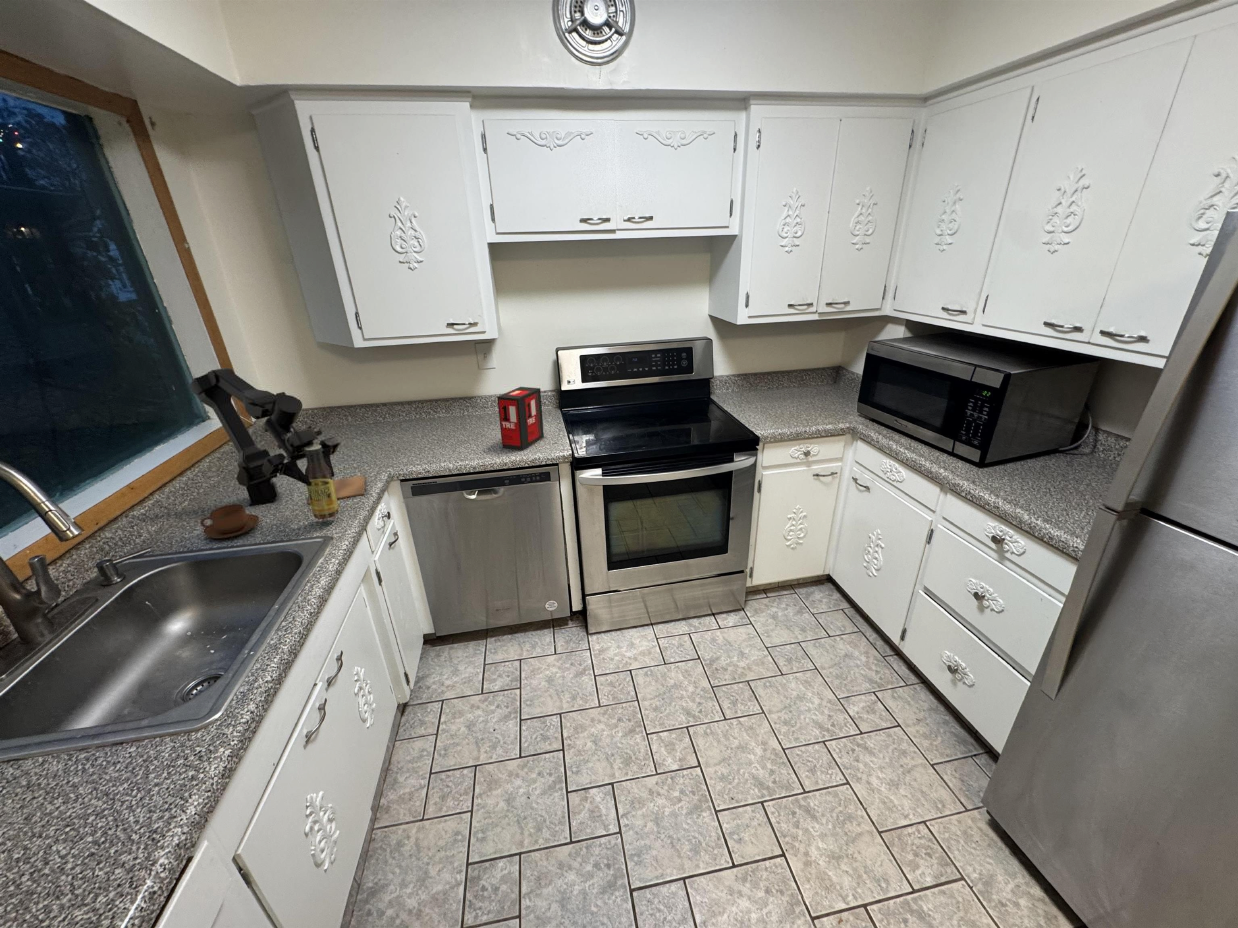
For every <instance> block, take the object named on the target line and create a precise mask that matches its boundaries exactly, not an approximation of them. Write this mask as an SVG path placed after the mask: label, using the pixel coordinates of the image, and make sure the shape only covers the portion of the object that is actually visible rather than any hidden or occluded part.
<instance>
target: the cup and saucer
mask: <svg viewBox="0 0 1238 928" xmlns="http://www.w3.org/2000/svg"><path fill="white" fill-rule="evenodd" d="M207 520H209V521H210V520H211V522H212V523H210V524H208V525H207V524H205V523H204V522H205V521H207ZM259 522H260V517H259V516H258V515H256V514H253V513H247V512H246V509H245V505H244V504H240V503H232V504H227V505H223V506H220V507H217V508H215V509H213V510H212V511H210V513H209V516H205V517H203V518H201V519H200V522H199V524H200V525H201V527H203V528H204V529H203V534H204V536H206V537H208V538H211V539H227V538H232V537H236V536H240V535H242V534H245V533H246V532H249V531H250V530H252V529H253V528H255V527H256V526H257V525H258V523H259Z"/></svg>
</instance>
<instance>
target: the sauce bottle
mask: <svg viewBox="0 0 1238 928" xmlns="http://www.w3.org/2000/svg"><path fill="white" fill-rule="evenodd" d="M304 453H305V454H306V458H305V459H306V466H305V469H304V474H305V475H306V477H307V478H308V479H309V481H310V482H311V486H308V485H306V489H307V495H308V498H309V499H310V504H309V505H310V508H311V512H312V514H313V517H314V519H316V520H317V519H318V520H326V519H331V518H334V517H336V515H338V513H339V503H338V499H337V498H336V493H335V488H334V483H333V480H334V477H332V474H331V470H330V468H329V467H328V466H327V465H326V464H325V462H324V459H323V455H322V446H321V445H319V444H313V445H309V446H306V447H305V448H304ZM309 499H308V500H309Z"/></svg>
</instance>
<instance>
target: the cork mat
mask: <svg viewBox="0 0 1238 928" xmlns="http://www.w3.org/2000/svg"><path fill="white" fill-rule="evenodd" d="M365 476H366V475H359V476H353V477H347V478H346V477H345V478H340V479H335V480H334V479H333V483H334V488H335V493H336V498H337V500H342V499H347V498H353V497H360V496H365V489H366V488H365V486H366V485H365V484H366V477H365ZM307 504H308V505H311V504H310V499H308V502H307Z"/></svg>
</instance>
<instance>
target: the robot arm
mask: <svg viewBox="0 0 1238 928" xmlns="http://www.w3.org/2000/svg"><path fill="white" fill-rule="evenodd" d="M189 386H190V390H191V392H192V393H193V394H194V395H195V396H196V397H197V399H198V400H199V401H200V402H201V403H202V404H204V405H206V406H207V407H209V408H211V409H212V411H213V412H214V413H215V415H216V417H217V419H218V421H219V422H220V424H221V426H222V428H223V429H224V431H225V433H226V434H227V437H229V440H230V442H231V443H232V445H233V446H234V448H235V450H236V452H237V453H238V456H237V457H238V458H237V464H236V465H237V467H238V472H237V475H236V478H235V479H236V481H237V483H238V485H239V486H242V487H244V488H245V489H246V493H247V495H248V499H249V503H248V505H249V506H256V505H261V504H267V503H273V502H276V500H277V498H278V497H279V494H280V493H279V489H278V486H277V483H276V481H274V480H273V479H275V478H278V475H279V476H286V477H287V478H291V479H293V480H295V481H298V482H300V483H302V484H304V485H306V486H307V485H308V486H311V482H310V481H309V479H308V478H307V477H306V475H305V472H303V470H302V469H301V468H300V467H299V465H298V461H301V460H304V459H307V458H306V454H305V453H304V448H305V447H306V446H309V445H315V442H314V441H317V440H319V437H320V436H321V435H323V431H322V428H321V427H320V426H319V425H318V424H317V423H312V424H310V425H309V426H307V428H306V429H301V428H299V429H298V428H297V427H296V425H295V423H296V422H297V420H298V417H299V416H300V414H301V411H302V409H303V402H302V400H301V399H299V398H298V397H295V396H293V395H290V394H287V393H286V392H285V391H281V392H277V393H273V392H271V391H268V390H265V389H264V390H263V389H258V388H256V387H254V386H253V385H251V384H250V383H249V382H247V381H246V380H245V379H243V378H241V377H240V376H239V375H237V374H236V373H235V372H234V371H233V369H232V368H230V367H223V368H216V369H210V370H209V371H208V372H207V373H205V374H202V375H200V376H198V377H197V376H196V377H193V379H192V381H191V382H190V384H189ZM232 397H234V398H235V399H237V400H238V401H239V402H241V403H242V404H243V405H244V411H245V412H246V413H247V415H248V416H249V417H251V418H252V419H254V420H255V421H258V420H262V419H266V420H265V421H264V422H263V423H264V424H263V431H264V433H269V434H270V435H271V436H272V438H273V439H274V440H275V441H276V443H277V446H276V447H277V448H278V450H282V451H283V452H284V453H285V454H284V453H281V452H279V453H276V454H273V455H271V454H270V452H269V450H268V449H266V448H264V449H262V448H260V447H258V445H257V444H256V443H255V440H254V439H253V437H252V436H251V434H250V432H249V430H248V429H247V427H246V425H245V423H244V422H243V420H242V418H241V416H240V414H239V413H238V411H237V409H236V407H235V406H234V404H233V402H232ZM318 445H321V446H322V455H323V459H324V462H325V464H326V465H327V466H328V467H329V468H330V470H331V474H332V478H334V477H335V471H334V467H333V464H332V459H331V456H332V455H335V454H336V452H337V451H338V449H339V447H340V445H341V442H340V440H339V439H338V438H337V437H336V436H330V437H326V438H324V439H321V440H320V442H319V443H318Z"/></svg>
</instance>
